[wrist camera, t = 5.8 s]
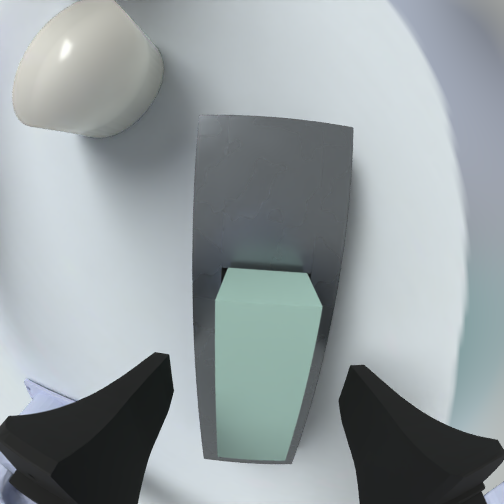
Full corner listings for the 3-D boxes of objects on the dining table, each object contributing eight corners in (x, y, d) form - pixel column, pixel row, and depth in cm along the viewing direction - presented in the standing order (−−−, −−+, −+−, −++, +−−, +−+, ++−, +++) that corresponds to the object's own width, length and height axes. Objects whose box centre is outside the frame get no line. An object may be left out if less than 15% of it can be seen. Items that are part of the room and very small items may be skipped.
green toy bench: (280, 381, 15) (285, 460, 9) (230, 378, 15) (217, 456, 9) (297, 253, 13) (322, 306, 7) (235, 249, 13) (215, 299, 8)
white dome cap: (156, 133, 12) (105, 111, 7) (63, 144, 12) (3, 139, 7) (171, 29, 11) (139, -20, 6) (80, 51, 11) (32, 24, 6)
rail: (289, 438, 17) (291, 464, 14) (209, 433, 17) (203, 458, 14) (337, 137, 12) (353, 127, 9) (210, 127, 12) (199, 115, 9)
